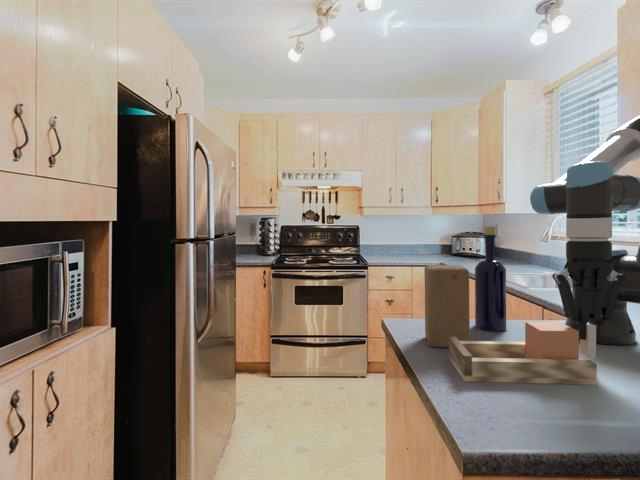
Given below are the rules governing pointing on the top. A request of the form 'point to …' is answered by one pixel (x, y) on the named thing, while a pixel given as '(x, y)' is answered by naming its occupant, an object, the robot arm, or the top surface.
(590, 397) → the top surface
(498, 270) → the bottle
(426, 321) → the wooden block
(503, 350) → the wooden tray
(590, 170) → the robot arm
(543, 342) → the terracotta block
